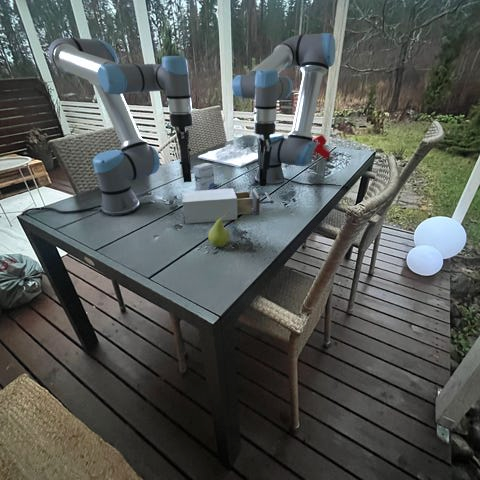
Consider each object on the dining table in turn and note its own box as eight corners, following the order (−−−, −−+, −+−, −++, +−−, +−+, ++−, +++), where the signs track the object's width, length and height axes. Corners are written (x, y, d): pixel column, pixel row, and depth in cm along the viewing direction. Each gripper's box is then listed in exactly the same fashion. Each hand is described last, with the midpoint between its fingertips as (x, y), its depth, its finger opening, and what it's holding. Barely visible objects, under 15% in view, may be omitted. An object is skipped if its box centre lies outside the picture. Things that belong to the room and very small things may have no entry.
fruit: (206, 242, 94) (203, 211, 88) (227, 237, 96) (225, 207, 90) (212, 252, 89) (209, 220, 82) (233, 247, 91) (232, 215, 85)
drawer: (267, 204, 118) (268, 188, 114) (273, 213, 110) (274, 197, 106) (210, 208, 114) (209, 192, 110) (211, 218, 107) (210, 201, 103)
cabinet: (233, 208, 117) (233, 188, 112) (237, 219, 108) (237, 198, 103) (185, 212, 114) (182, 191, 109) (185, 223, 105) (182, 202, 100)
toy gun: (334, 153, 174) (322, 133, 171) (333, 155, 171) (321, 134, 167) (309, 168, 184) (297, 149, 181) (308, 170, 181) (296, 151, 177)
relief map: (240, 167, 163) (239, 158, 160) (198, 157, 181) (197, 150, 178) (264, 157, 181) (264, 149, 178) (224, 149, 199) (223, 141, 196)
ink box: (208, 184, 140) (207, 162, 133) (214, 187, 137) (213, 164, 130) (195, 189, 134) (192, 165, 128) (201, 192, 132) (199, 168, 125)
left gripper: (170, 108, 99) (178, 165, 110) (166, 119, 78) (176, 188, 90) (191, 107, 100) (196, 164, 111) (192, 118, 79) (199, 186, 91)
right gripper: (250, 118, 100) (249, 180, 113) (258, 125, 89) (256, 192, 102) (270, 118, 101) (267, 179, 114) (280, 124, 90) (276, 190, 103)
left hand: (187, 175), depth 101 cm, fingers open, 13 cm apart
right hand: (262, 185), depth 108 cm, fingers closed
